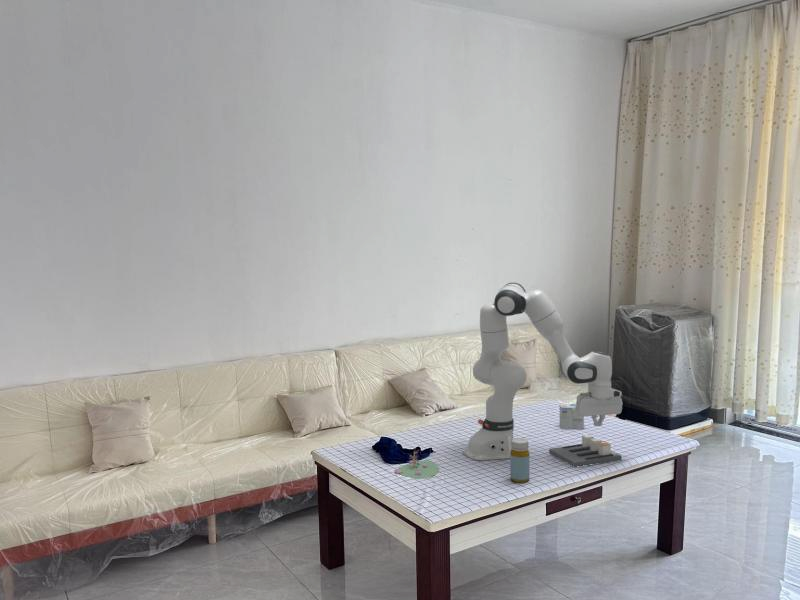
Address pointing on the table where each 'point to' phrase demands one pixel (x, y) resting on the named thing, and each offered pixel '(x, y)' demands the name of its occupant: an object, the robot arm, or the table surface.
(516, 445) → the bottle
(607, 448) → the switch
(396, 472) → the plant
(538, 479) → the table surface
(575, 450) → the switch panel
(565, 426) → the light bulb box
